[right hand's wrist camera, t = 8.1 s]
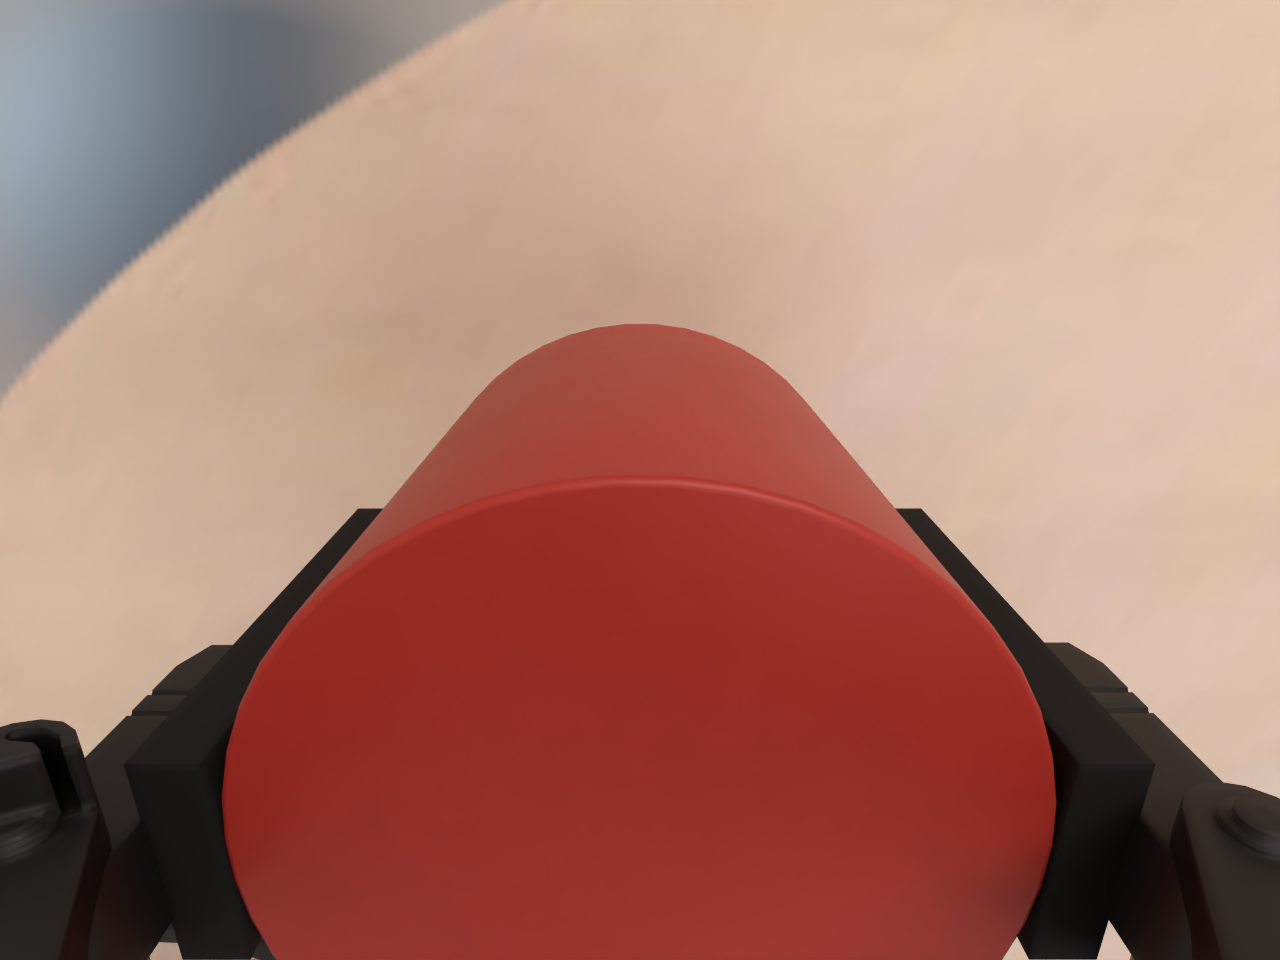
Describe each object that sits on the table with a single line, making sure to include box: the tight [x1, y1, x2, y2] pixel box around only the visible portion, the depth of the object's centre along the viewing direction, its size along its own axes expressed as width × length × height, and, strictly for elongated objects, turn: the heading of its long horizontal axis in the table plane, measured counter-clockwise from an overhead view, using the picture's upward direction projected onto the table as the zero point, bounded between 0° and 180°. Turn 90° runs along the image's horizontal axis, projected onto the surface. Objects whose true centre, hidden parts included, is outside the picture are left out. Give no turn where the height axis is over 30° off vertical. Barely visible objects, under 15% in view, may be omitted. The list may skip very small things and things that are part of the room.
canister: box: [222, 324, 1056, 960], centre depth 12 cm, size 9×9×9 cm
